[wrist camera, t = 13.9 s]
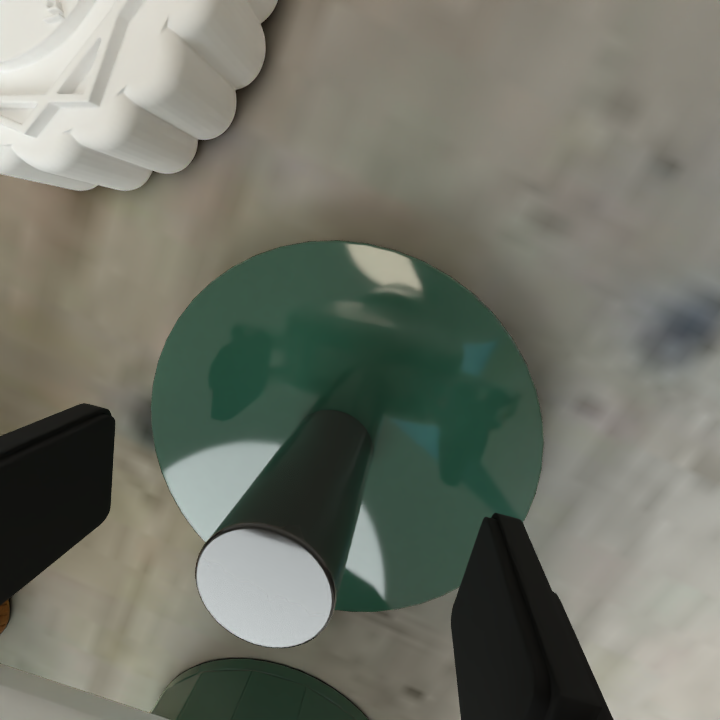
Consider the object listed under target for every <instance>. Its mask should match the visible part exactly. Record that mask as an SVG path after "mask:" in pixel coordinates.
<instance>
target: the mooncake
mask: <svg viewBox="0 0 720 720" xmlns="http://www.w3.org/2000/svg"><path fill="white" fill-rule="evenodd" d="M277 2H278V0H0V174H3V175H7V176H12V177H16V178H21V179H25V180H30V181H35V182H39V183H44V184H48V185H53V186H58V187H62V188H67V189H71V190H77V191H85V190H90V189H93V188H95V187H96V186H98V185H100V186H104V187H108V188H112V189H116V190H121V191H130V190H134V189H137V188H139V187H141V186H142V185H143V184H144V183H145V182H146V181H147V180H148V179H149V177H150V175H151V173H152V170H153V171H155V172H158V173H163V174H172V173H176V172H179V171H181V170H183V169H184V168H186V167H187V166H188V165H189V164H190V163H191V161H192V160H193V158H194V156H195V153H196V151H197V146H198V139H200V140H209V139H213V138H216V137H218V136H220V135H221V134H222V133H224V132H225V131H226V130H227V129H228V127H229V126H230V124H231V123H232V120H233V118H234V115H235V111H236V92H235V91H236V90H237V89H241V88H243V87H246V86H247V85H249V84H250V83H251V82H252V81H253V80H254V79H255V78H256V77H257V75H258V74H259V72H260V70H261V68H262V66H263V62H264V59H265V51H266V44H265V36H264V32H263V29H262V26H261V23H262V22H263V21H265V20H266V19H267V18H268V17H269V16H270V14H271V13H272V12H273V10H274V8H275V6H276V4H277Z"/></svg>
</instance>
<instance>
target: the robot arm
mask: <svg viewBox="0 0 720 720" xmlns="http://www.w3.org/2000/svg"><path fill="white" fill-rule="evenodd" d="M114 436H115V419H114V418H113V417H112V416H111V413H110V411H109V410H108V409H105V408H101V407H98V406H94V405H90V404H85V403H83V404H79V405H77V406H74V407H72V408H69V409H67V410H64V411H62V412H59V413H57V414H54V415H52V416H49V417H47V418H44V419H42V420H39V421H37V422H34V423H32V424H29V425H27V426H25V427H22V428H20V429H17V430H15V431H12V432H10V433H7V434H5V435H2V436H0V606H1V605H2V604H3V603H4V602H5V601H7V600H8V599H9V598H10V597H12V596H13V595H14V594H15V593H17V592H18V591H19V590H20V589H21V588H23V587H24V586H25V585H26V584H28V583H29V582H30V581H31V580H33V579H34V578H35V577H36V576H37V575H39V574H40V573H41V572H42V571H44V570H45V569H46V568H47V567H49V566H50V565H51V564H52V563H53V562H55V561H56V560H57V559H58V558H60V557H61V556H62V555H63V554H65V553H66V552H67V551H68V550H69V549H71V548H72V547H73V546H74V545H76V544H77V543H78V542H79V541H81V540H82V539H83V538H84V537H85V536H87V535H88V534H89V533H90V532H92V531H93V530H94V529H95V528H97V527H98V526H99V525H100V524H101V523H102V522H103V521H104V520H105V519H106V517H107V516H108V514H109V511H110V505H111V488H112V471H113V454H114ZM451 629H452V638H453V648H454V657H455V667H456V676H457V685H458V695H459V704H460V714H461V720H613V718H612V716H611V713H610V711H609V709H608V707H607V704H606V702H605V700H604V698H603V695H602V693H601V691H600V689H599V686H598V684H597V682H596V680H595V677H594V675H593V673H592V671H591V668H590V666H589V664H588V662H587V659H586V657H585V655H584V653H583V650H582V648H581V646H580V644H579V641H578V639H577V637H576V635H575V632H574V630H573V628H572V626H571V623H570V621H569V619H568V617H567V614H566V612H565V610H564V608H563V605H562V603H561V601H560V599H559V597H558V596H557V594H556V593H554V592H553V591H552V590H551V587H550V585H549V583H548V580H547V578H546V576H545V573H544V571H543V569H542V566H541V564H540V562H539V560H538V557H537V555H536V553H535V550H534V548H533V546H532V543H531V541H530V539H529V536H528V534H527V532H526V529H525V527H524V525H523V523H522V521H521V520H520V519H517V518H514V517H510V516H506V515H502V514H499V513H494V514H493V515H492V517H491V518H489V517H484V519H483V521H482V523H481V526H480V529H479V532H478V535H477V538H476V541H475V544H474V547H473V550H472V553H471V556H470V558H469V561H468V564H467V567H466V570H465V573H464V576H463V579H462V582H461V585H460V588H459V591H458V594H457V597H456V600H455V603H454V605H453V609H452V615H451ZM0 720H169V719H166V718H163V717H160V716H157V715H154V714H151V713H148V712H145V711H142V710H139V709H136V708H133V707H130V706H127V705H124V704H121V703H118V702H115V701H112V700H109V699H106V698H103V697H100V696H97V695H94V694H91V693H88V692H85V691H82V690H79V689H76V688H73V687H70V686H67V685H64V684H61V683H58V682H55V681H52V680H49V679H46V678H43V677H40V676H37V675H34V674H31V673H28V672H24V671H21V670H18V669H15V668H12V667H9V666H6V665H3V664H0Z"/></svg>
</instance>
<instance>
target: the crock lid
mask: <svg viewBox="0 0 720 720" xmlns="http://www.w3.org/2000/svg"><path fill="white" fill-rule="evenodd" d="M151 420H152V433H153V439H154V445H155V451H156V454H157V458H158V461H159V465H160V468H161V472H162V474H163V477H164V479H165V481H166V484H167V486H168V488H169V491H170V493H171V495H172V497H173V498H174V500H175V502H176V504H177V505H178V507H179V509H180V511H181V512H182V514H183V515H184V517H185V518H186V519H187V521H188V522H189V524H190V525H191V526H192V528H193V529H194V531H195V532H196V533H197V534H198V535H199V536H200V537H201V538H202V540H203V541H204V542H205V544H204V546H203V547H202V549H201V551H200V553H199V556H198V559H197V563H196V570H195V579H196V585H197V589H198V592H199V595H200V597H201V600H202V602H203V604H204V605H205V607H206V609H207V610H208V612H209V613H210V614H211V616H212V617H213V618H214V619H215V620H216V621H217V622H218V623H219V624H220V625H221V626H222V627H224V628H225V629H226V630H227V631H229V632H230V633H232V634H233V635H235V636H237V637H238V638H240V639H242V640H245V641H247V642H249V643H252V644H255V645H259V646H263V647H269V648H290V647H295V646H299V645H302V644H304V643H307V642H308V641H310V640H312V639H314V638H315V637H316V636H318V635H319V634H320V633H321V632H322V631H323V630H324V629H325V628H326V626H327V625H328V623H329V622H330V620H331V618H332V616H333V613H334V610H340V611H349V612H378V611H387V610H396V609H401V608H405V607H410V606H414V605H418V604H422V603H424V602H427V601H430V600H433V599H435V598H438V597H441V596H443V595H445V594H447V593H449V592H451V591H453V590H455V589H457V588H459V587H460V585H461V582H462V579H463V576H464V573H465V570H466V567H467V564H468V561H469V558H470V556H471V553H472V550H473V547H474V544H475V541H476V538H477V535H478V532H479V529H480V526H481V523H482V521H483V519H484V517H489V518H491V517H492V515H493V514H494V513H499V514H502V515H506V516H510V517H514V518H517V519H520V520H521V521H522V523H523V521H524V520H525V518H526V516H527V514H528V511H529V509H530V506H531V504H532V502H533V499H534V497H535V494H536V490H537V486H538V482H539V478H540V474H541V470H542V459H543V448H544V437H543V421H542V414H541V409H540V404H539V400H538V395H537V390H536V388H535V385H534V382H533V380H532V377H531V374H530V372H529V369H528V366H527V364H526V362H525V360H524V358H523V356H522V355H521V353H520V351H519V349H518V347H517V346H516V344H515V342H514V340H513V338H512V337H511V336H510V334H509V333H508V332H507V330H506V329H505V328H504V326H503V325H502V324H501V322H500V321H499V320H498V318H497V317H496V316H495V315H494V314H493V313H492V312H491V311H490V310H489V309H488V308H487V307H486V306H485V305H484V304H483V303H482V302H481V301H480V300H479V299H478V298H477V297H476V296H475V295H474V294H473V293H472V292H471V291H469V290H468V289H467V288H465V287H464V286H463V285H461V284H460V283H459V282H457V281H456V280H455V279H453V278H452V277H451V276H449V275H447V274H446V273H444V272H442V271H440V270H438V269H437V268H435V267H433V266H431V265H430V264H428V263H426V262H424V261H422V260H419V259H417V258H414V257H412V256H409V255H407V254H404V253H402V252H399V251H396V250H393V249H389V248H385V247H380V246H376V245H372V244H368V243H360V242H350V241H340V240H331V241H308V242H303V243H297V244H292V245H286V246H281V247H278V248H275V249H272V250H269V251H266V252H263V253H260V254H258V255H255V256H253V257H251V258H249V259H247V260H245V261H243V262H241V263H239V264H237V265H235V266H233V267H232V268H230V269H229V270H227V271H226V272H225V273H223V274H222V275H220V276H219V277H218V278H216V279H215V280H213V281H212V282H211V283H210V284H209V285H208V286H207V287H206V288H205V289H204V290H202V291H201V292H200V293H199V294H198V295H197V296H196V297H195V298H194V299H193V300H192V302H191V303H190V304H189V306H188V307H187V308H186V310H185V311H184V312H183V313H182V315H181V316H180V317H179V319H178V320H177V322H176V324H175V326H174V327H173V329H172V331H171V333H170V335H169V336H168V338H167V340H166V343H165V345H164V348H163V350H162V353H161V356H160V358H159V361H158V365H157V369H156V373H155V378H154V382H153V390H152V401H151Z"/></svg>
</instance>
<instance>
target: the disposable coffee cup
mask: <svg viewBox="0 0 720 720" xmlns="http://www.w3.org/2000/svg"><path fill="white" fill-rule="evenodd" d="M9 613H10V609H9V600H7V601H5V602H4V603H3V604H2V605H1V606H0V634H1V633H2V631H3V630H4V629H5V628H6V625H7V623H8V620H9Z"/></svg>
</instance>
